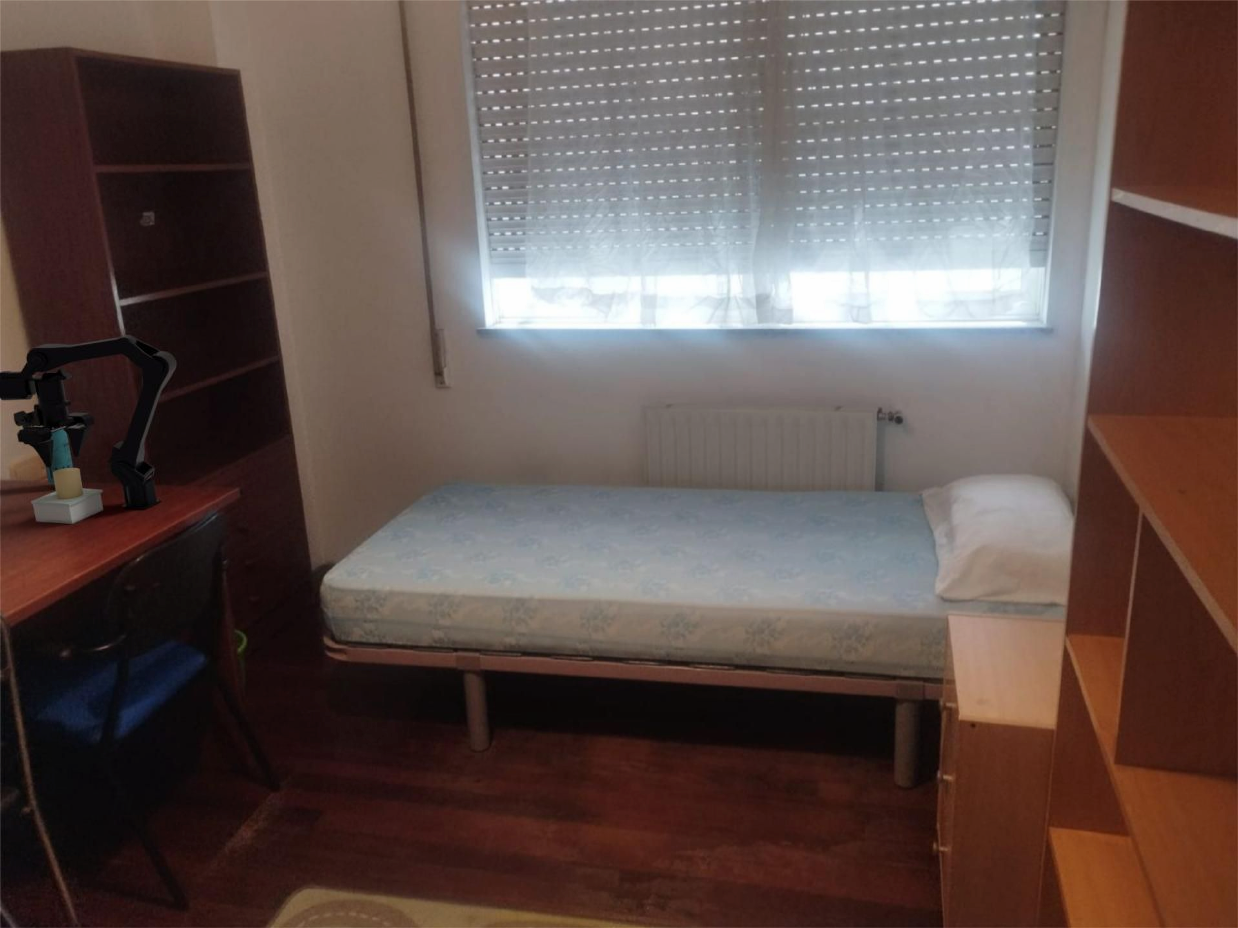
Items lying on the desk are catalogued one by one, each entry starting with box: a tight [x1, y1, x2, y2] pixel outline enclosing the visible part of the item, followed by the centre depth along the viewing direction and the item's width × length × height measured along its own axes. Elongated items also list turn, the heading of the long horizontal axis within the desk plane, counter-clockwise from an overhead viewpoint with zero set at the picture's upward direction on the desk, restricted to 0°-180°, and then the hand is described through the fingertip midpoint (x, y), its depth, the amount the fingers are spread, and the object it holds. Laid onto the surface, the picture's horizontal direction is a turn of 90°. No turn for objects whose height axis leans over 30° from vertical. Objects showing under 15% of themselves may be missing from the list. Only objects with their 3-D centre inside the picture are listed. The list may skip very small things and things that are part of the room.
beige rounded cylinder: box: [53, 467, 83, 499], centre depth 227 cm, size 6×6×6 cm
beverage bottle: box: [41, 426, 75, 485], centre depth 250 cm, size 6×7×20 cm
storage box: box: [32, 493, 104, 525], centre depth 229 cm, size 10×10×4 cm
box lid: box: [30, 487, 104, 506], centre depth 229 cm, size 10×11×1 cm
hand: (63, 462), depth 231 cm, fingers open, 9 cm apart
